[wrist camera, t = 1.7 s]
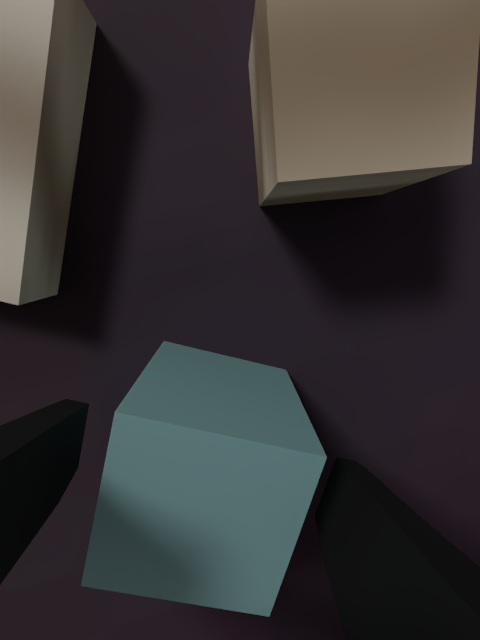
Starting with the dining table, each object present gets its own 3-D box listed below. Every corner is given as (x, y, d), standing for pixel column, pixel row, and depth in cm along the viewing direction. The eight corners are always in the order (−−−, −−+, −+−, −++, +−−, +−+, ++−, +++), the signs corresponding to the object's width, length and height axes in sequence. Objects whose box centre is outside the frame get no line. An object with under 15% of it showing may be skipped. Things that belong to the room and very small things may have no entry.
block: (380, 195, 10) (471, 164, 7) (259, 206, 10) (277, 182, 6) (381, 53, 10) (486, -80, 6) (248, 65, 9) (262, -62, 6)
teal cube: (253, 473, 13) (269, 617, 8) (140, 450, 12) (80, 586, 7) (285, 369, 12) (327, 456, 7) (164, 340, 11) (114, 411, 6)
